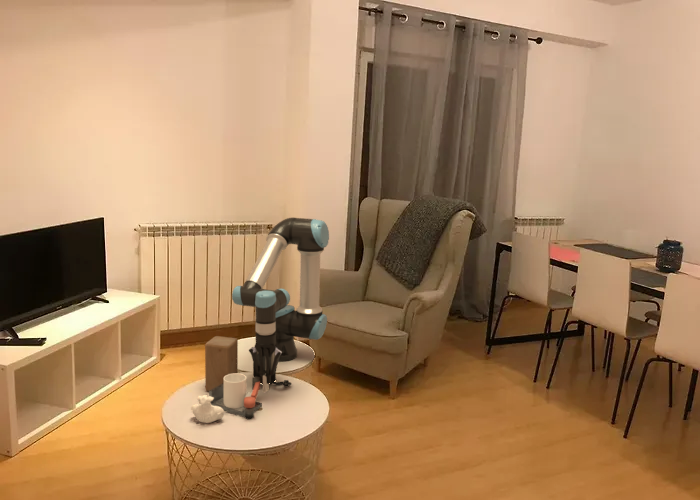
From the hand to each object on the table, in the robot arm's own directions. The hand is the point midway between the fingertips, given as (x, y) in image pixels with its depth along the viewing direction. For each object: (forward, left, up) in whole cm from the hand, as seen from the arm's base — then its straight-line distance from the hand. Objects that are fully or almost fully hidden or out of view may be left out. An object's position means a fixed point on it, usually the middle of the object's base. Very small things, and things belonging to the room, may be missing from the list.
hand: (265, 390), depth 224 cm
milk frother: (-13, -6, -4) cm, 15 cm away
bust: (+25, -7, -4) cm, 27 cm away
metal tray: (+12, -5, -3) cm, 13 cm away
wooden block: (+1, -20, -4) cm, 21 cm away
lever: (+8, 0, -1) cm, 8 cm away
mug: (+11, -6, -2) cm, 12 cm away
